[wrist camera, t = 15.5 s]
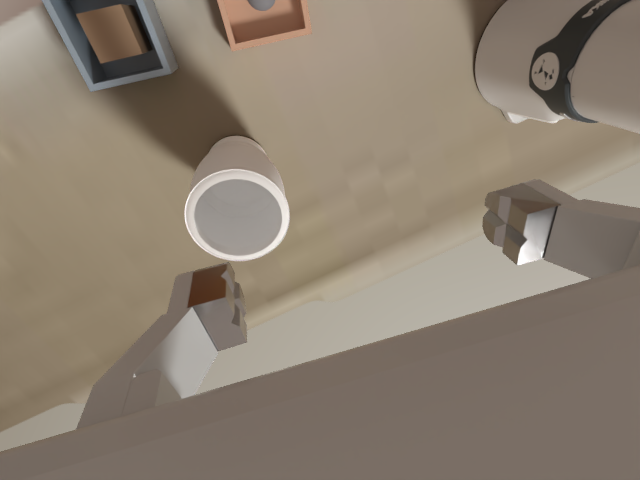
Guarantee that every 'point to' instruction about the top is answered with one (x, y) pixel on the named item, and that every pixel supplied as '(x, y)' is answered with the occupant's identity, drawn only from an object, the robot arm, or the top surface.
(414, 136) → the top surface
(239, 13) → the dish
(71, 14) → the grey open box
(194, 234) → the jar
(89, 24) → the block
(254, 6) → the ball
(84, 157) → the top surface
